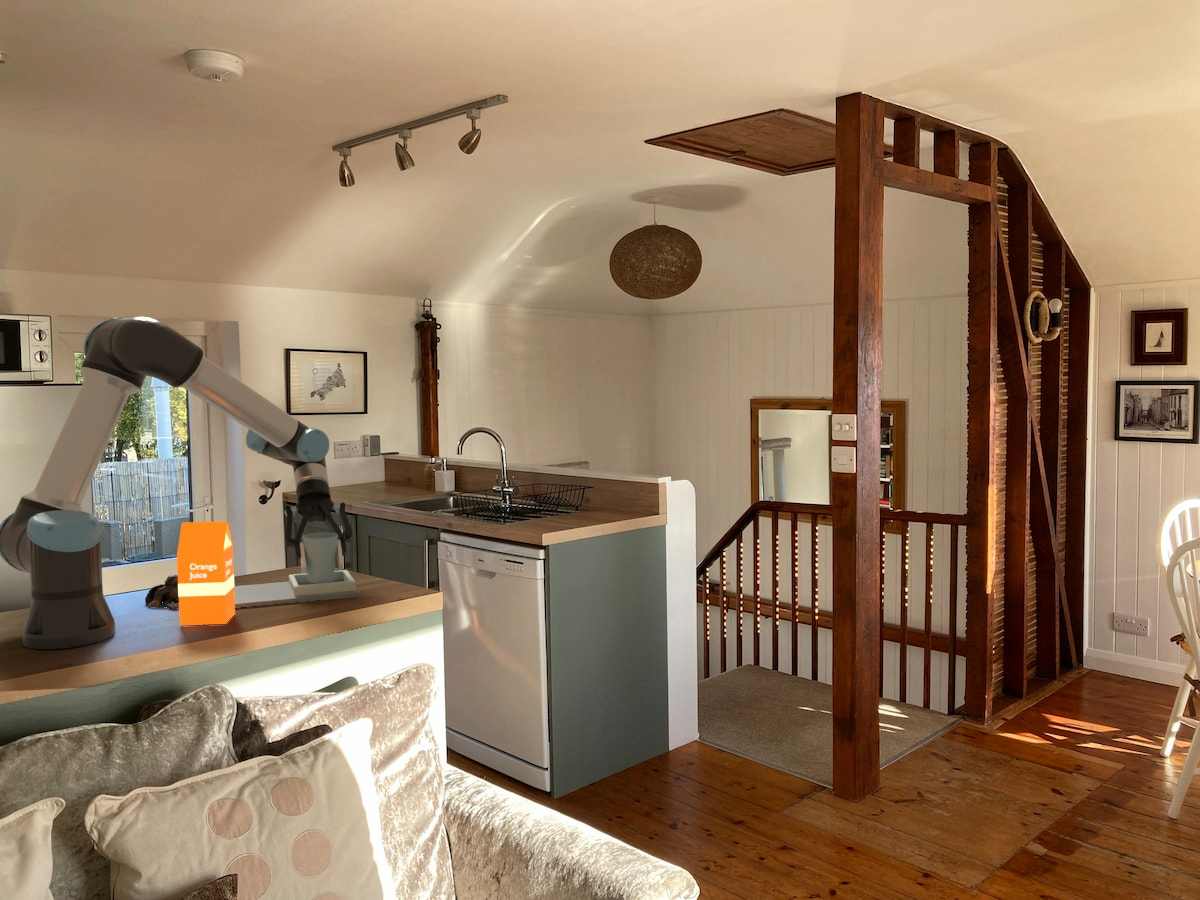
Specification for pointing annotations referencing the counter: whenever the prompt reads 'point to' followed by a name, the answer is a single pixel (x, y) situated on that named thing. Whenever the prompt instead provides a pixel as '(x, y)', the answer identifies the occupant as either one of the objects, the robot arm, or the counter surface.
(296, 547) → the robot arm
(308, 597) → the board
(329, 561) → the cup
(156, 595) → the stuffed animal
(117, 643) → the counter surface
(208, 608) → the orange juice
